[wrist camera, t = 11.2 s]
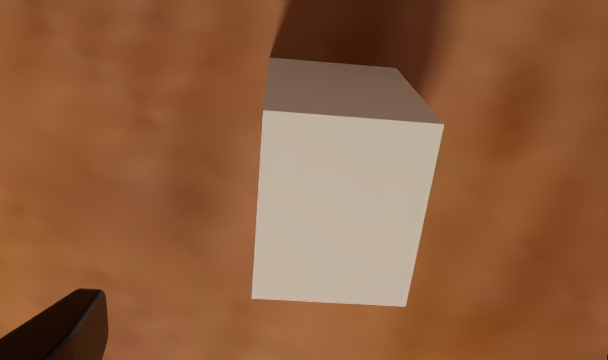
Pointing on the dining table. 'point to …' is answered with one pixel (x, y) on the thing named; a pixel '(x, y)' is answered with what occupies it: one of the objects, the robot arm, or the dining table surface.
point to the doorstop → (341, 183)
